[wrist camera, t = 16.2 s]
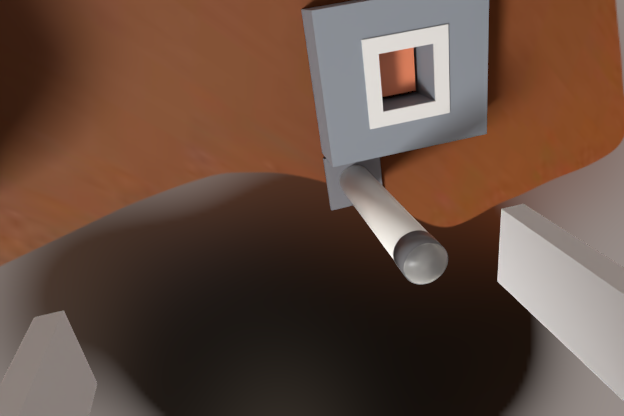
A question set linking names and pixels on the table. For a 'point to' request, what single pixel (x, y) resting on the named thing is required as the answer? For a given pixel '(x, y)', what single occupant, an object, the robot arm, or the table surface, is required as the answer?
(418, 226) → the stylus
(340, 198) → the pad
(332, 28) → the panel
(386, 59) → the orange rectangular tile
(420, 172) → the table surface
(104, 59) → the table surface
